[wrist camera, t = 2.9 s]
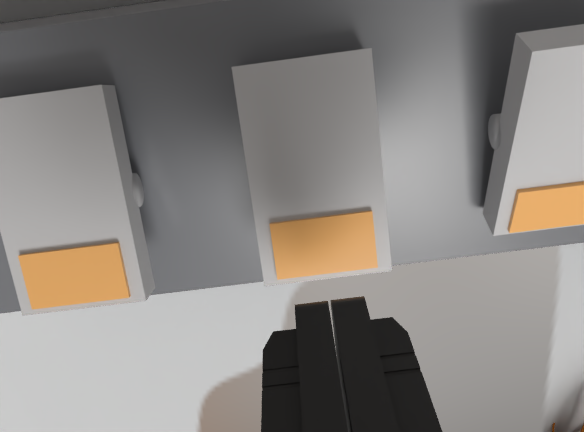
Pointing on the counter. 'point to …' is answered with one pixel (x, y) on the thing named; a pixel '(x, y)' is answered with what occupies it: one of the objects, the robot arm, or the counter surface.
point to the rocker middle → (314, 166)
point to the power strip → (226, 125)
